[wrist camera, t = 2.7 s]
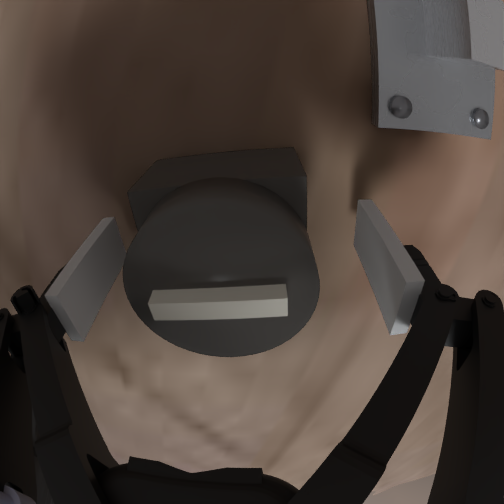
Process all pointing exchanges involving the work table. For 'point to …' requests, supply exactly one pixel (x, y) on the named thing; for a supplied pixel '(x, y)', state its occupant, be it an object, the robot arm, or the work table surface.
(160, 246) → the knob
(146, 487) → the robot arm
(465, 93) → the mounting plate
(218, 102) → the work table surface
